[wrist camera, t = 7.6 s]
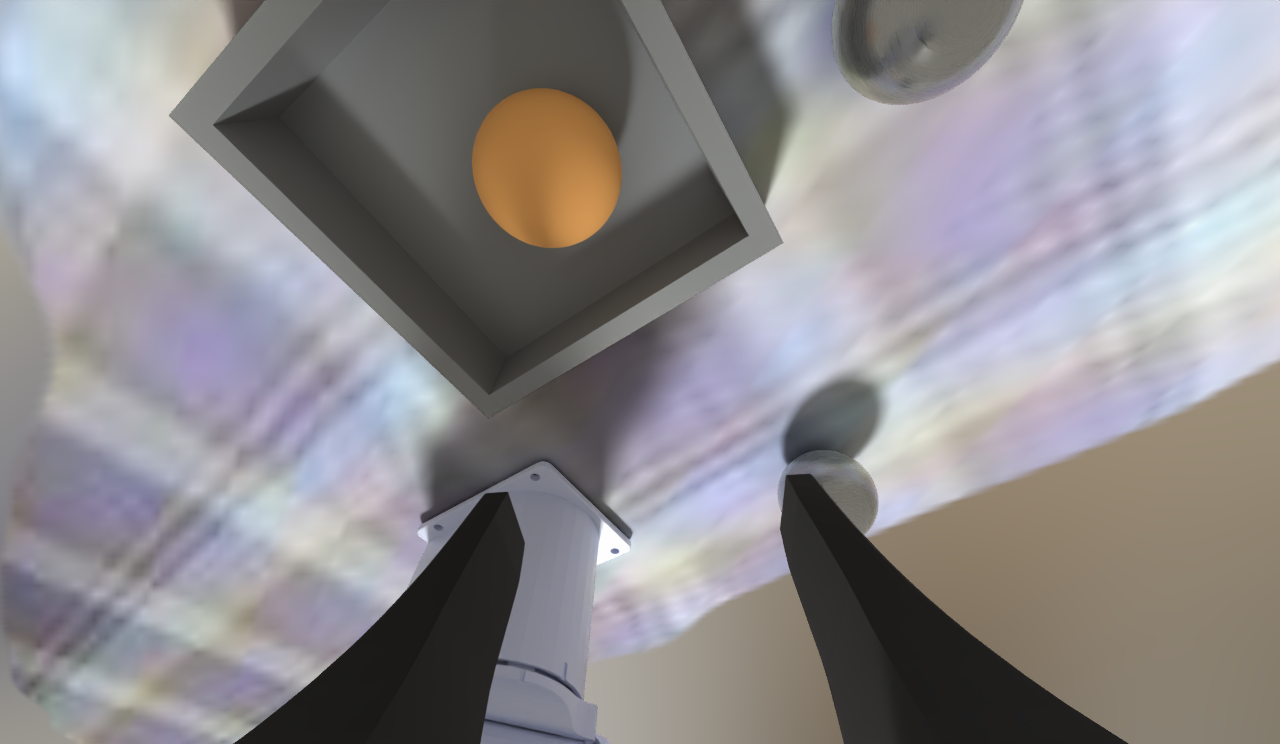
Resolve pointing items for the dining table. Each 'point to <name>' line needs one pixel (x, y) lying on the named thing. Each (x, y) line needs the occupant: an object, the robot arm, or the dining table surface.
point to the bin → (443, 177)
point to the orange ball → (546, 168)
